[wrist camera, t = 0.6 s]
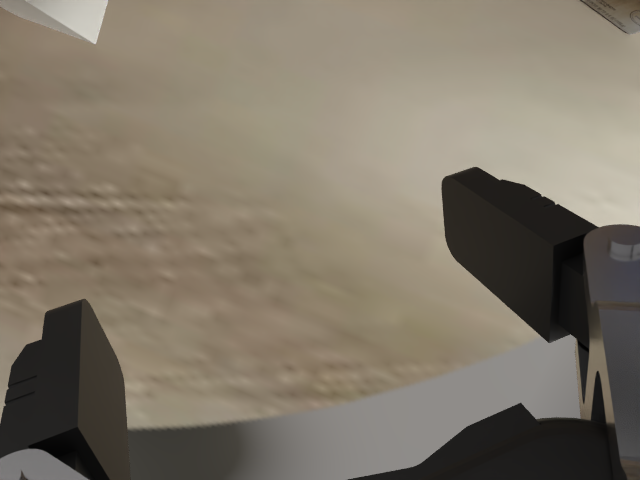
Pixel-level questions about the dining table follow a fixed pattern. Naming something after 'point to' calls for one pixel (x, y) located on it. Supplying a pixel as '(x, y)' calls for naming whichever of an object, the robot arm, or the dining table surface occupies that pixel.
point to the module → (62, 15)
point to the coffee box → (619, 13)
